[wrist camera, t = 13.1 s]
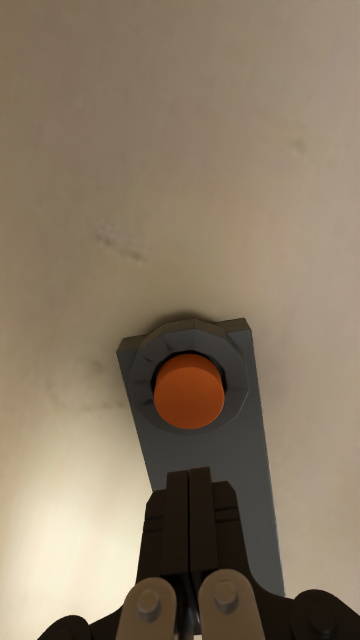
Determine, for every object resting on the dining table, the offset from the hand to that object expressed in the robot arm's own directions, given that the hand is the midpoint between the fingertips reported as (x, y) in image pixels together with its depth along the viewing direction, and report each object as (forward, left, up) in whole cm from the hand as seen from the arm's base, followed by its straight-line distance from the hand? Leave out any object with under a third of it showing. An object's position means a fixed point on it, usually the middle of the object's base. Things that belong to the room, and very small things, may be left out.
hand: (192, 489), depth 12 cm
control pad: (0, -9, -11) cm, 14 cm away
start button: (0, 0, -8) cm, 8 cm away
